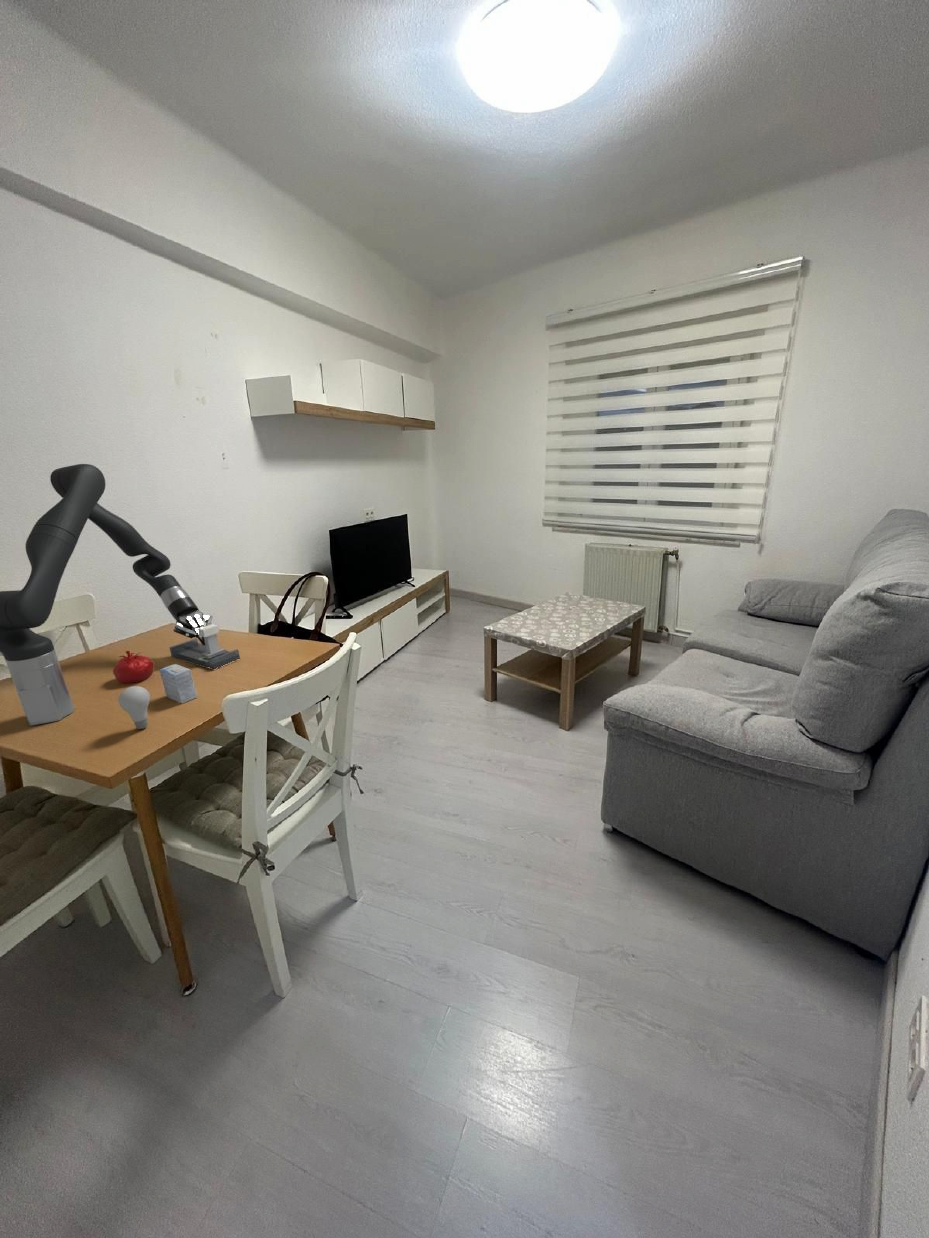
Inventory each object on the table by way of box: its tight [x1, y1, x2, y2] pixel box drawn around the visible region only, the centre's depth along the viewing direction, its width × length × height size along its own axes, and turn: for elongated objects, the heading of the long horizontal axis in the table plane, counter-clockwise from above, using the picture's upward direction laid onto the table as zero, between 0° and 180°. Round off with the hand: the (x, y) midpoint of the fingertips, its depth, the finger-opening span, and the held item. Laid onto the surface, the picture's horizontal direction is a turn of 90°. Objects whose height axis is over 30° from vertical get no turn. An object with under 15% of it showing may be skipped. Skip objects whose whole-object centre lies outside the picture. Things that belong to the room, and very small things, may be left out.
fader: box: [198, 623, 227, 659], centre depth 149 cm, size 4×6×9 cm, turn 150°
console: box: [168, 638, 241, 670], centre depth 154 cm, size 24×9×4 cm, turn 60°
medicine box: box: [159, 663, 198, 704], centre depth 126 cm, size 8×4×9 cm, turn 58°
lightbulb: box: [118, 685, 151, 730], centre depth 111 cm, size 6×6×11 cm
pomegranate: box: [112, 650, 154, 684], centre depth 139 cm, size 10×10×9 cm
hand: (208, 644), depth 150 cm, fingers closed
